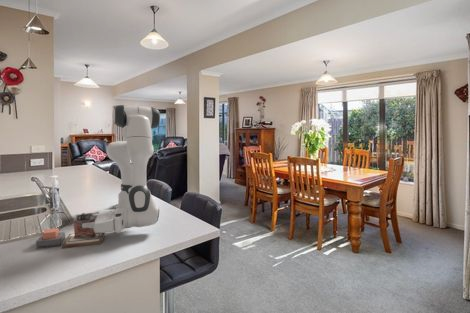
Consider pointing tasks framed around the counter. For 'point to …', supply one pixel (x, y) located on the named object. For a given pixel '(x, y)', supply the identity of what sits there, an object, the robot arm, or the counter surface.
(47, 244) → the button housing
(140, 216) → the robot arm
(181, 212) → the counter surface
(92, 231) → the lighter
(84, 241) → the board
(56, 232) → the button
